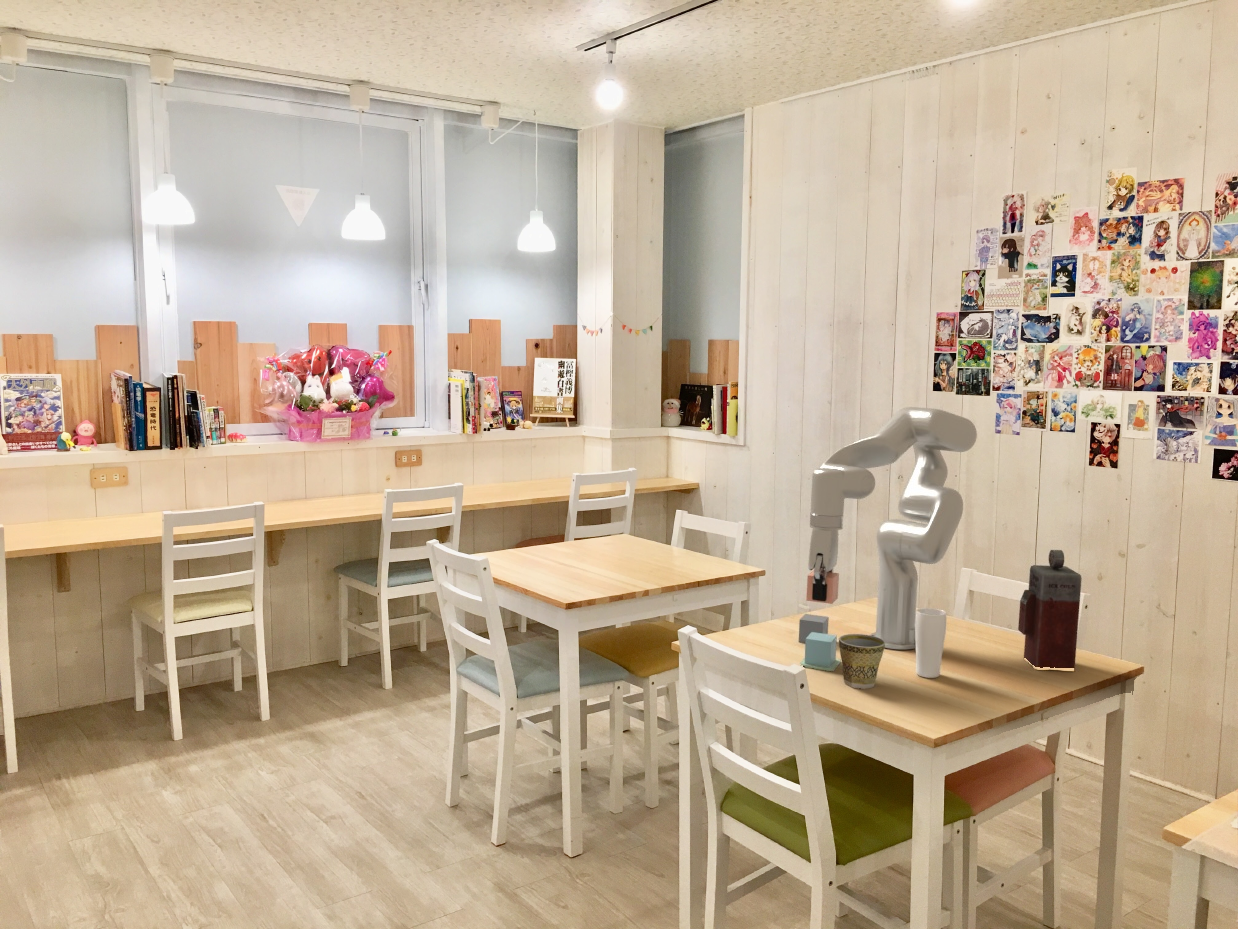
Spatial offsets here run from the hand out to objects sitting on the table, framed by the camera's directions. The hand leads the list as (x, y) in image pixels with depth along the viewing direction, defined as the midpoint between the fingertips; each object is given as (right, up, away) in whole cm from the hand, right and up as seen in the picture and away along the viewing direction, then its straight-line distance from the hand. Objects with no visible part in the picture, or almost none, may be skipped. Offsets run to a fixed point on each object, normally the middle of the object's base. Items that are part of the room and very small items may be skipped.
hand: (822, 596), depth 232 cm
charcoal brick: (+2, -14, +21) cm, 25 cm away
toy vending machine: (+54, -17, +5) cm, 57 cm away
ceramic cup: (+6, -18, -10) cm, 22 cm away
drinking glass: (+23, -18, -4) cm, 30 cm away
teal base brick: (0, -16, +2) cm, 16 cm away
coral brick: (0, -1, 0) cm, 1 cm away
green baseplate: (0, -16, +2) cm, 16 cm away
